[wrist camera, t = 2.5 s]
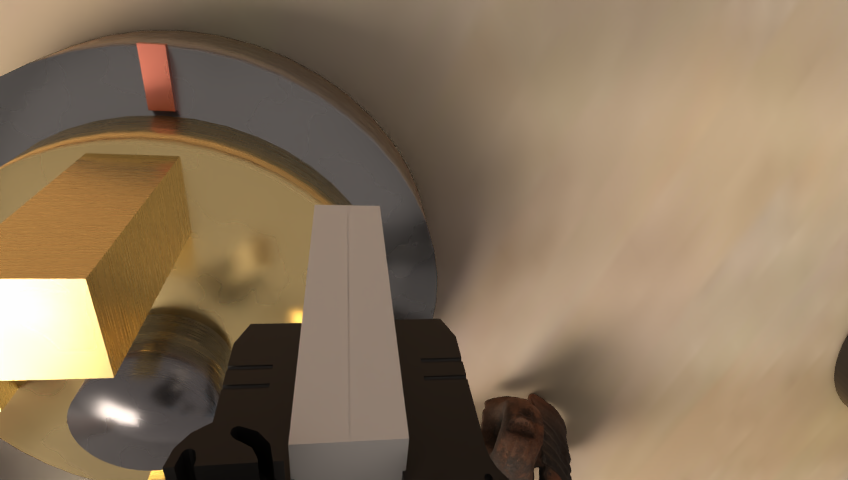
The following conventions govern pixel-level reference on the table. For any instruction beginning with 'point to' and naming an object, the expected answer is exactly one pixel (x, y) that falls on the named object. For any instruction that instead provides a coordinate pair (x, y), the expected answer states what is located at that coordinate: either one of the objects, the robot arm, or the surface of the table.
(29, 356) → the gold lug disc
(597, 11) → the table surface
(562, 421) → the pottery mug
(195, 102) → the base
